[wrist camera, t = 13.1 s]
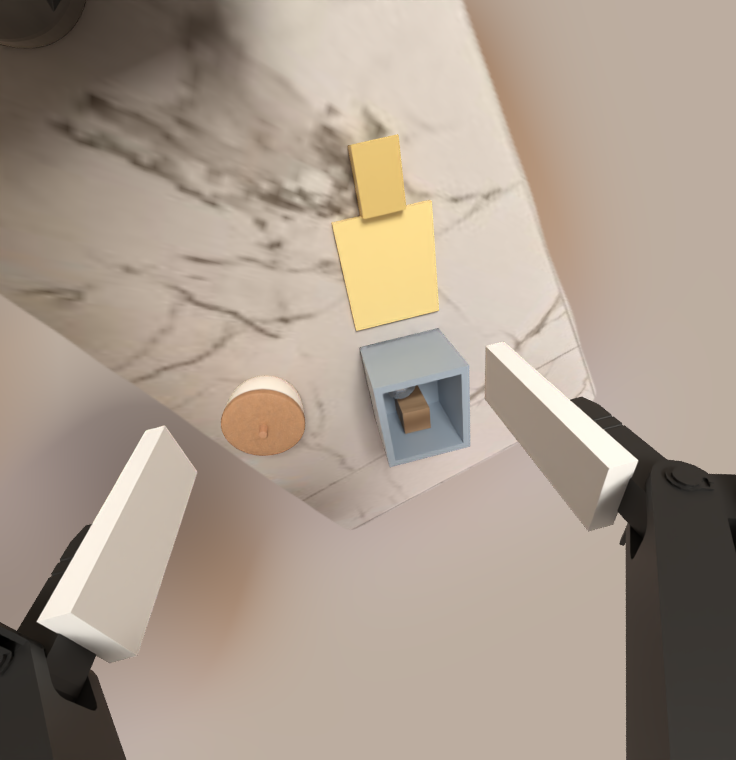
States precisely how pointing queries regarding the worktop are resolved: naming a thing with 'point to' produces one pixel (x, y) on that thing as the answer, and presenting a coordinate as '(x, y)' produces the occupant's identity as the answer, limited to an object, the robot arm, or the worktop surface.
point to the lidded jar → (263, 416)
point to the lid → (386, 241)
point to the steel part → (402, 393)
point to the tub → (436, 382)
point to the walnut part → (413, 412)
